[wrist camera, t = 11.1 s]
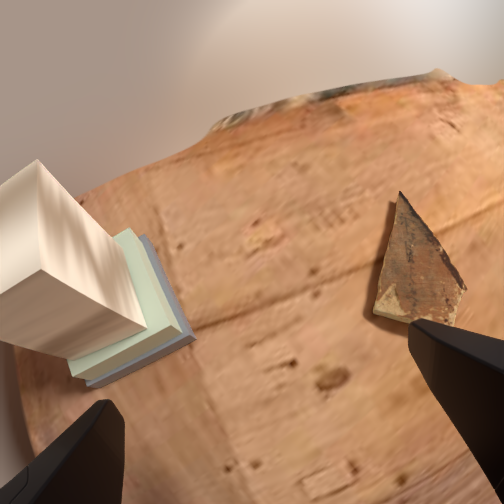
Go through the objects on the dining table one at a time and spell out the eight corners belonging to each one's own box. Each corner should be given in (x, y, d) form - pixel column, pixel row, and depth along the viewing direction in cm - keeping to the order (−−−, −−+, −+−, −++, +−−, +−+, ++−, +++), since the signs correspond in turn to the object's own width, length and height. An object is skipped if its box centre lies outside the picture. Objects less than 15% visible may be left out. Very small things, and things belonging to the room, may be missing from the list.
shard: (394, 199, 26) (400, 188, 25) (467, 228, 24) (476, 218, 23) (365, 313, 22) (371, 307, 21) (451, 343, 20) (462, 338, 19)
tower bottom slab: (199, 340, 23) (189, 334, 21) (103, 388, 22) (87, 386, 20) (155, 247, 27) (144, 233, 25) (73, 295, 26) (57, 285, 23)
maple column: (147, 328, 18) (41, 268, 9) (74, 360, 18) (-44, 324, 9) (123, 248, 21) (37, 159, 12) (57, 283, 20) (-40, 218, 11)
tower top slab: (182, 333, 21) (170, 324, 19) (91, 380, 20) (72, 376, 18) (142, 243, 24) (129, 227, 22) (64, 290, 23) (46, 279, 21)
